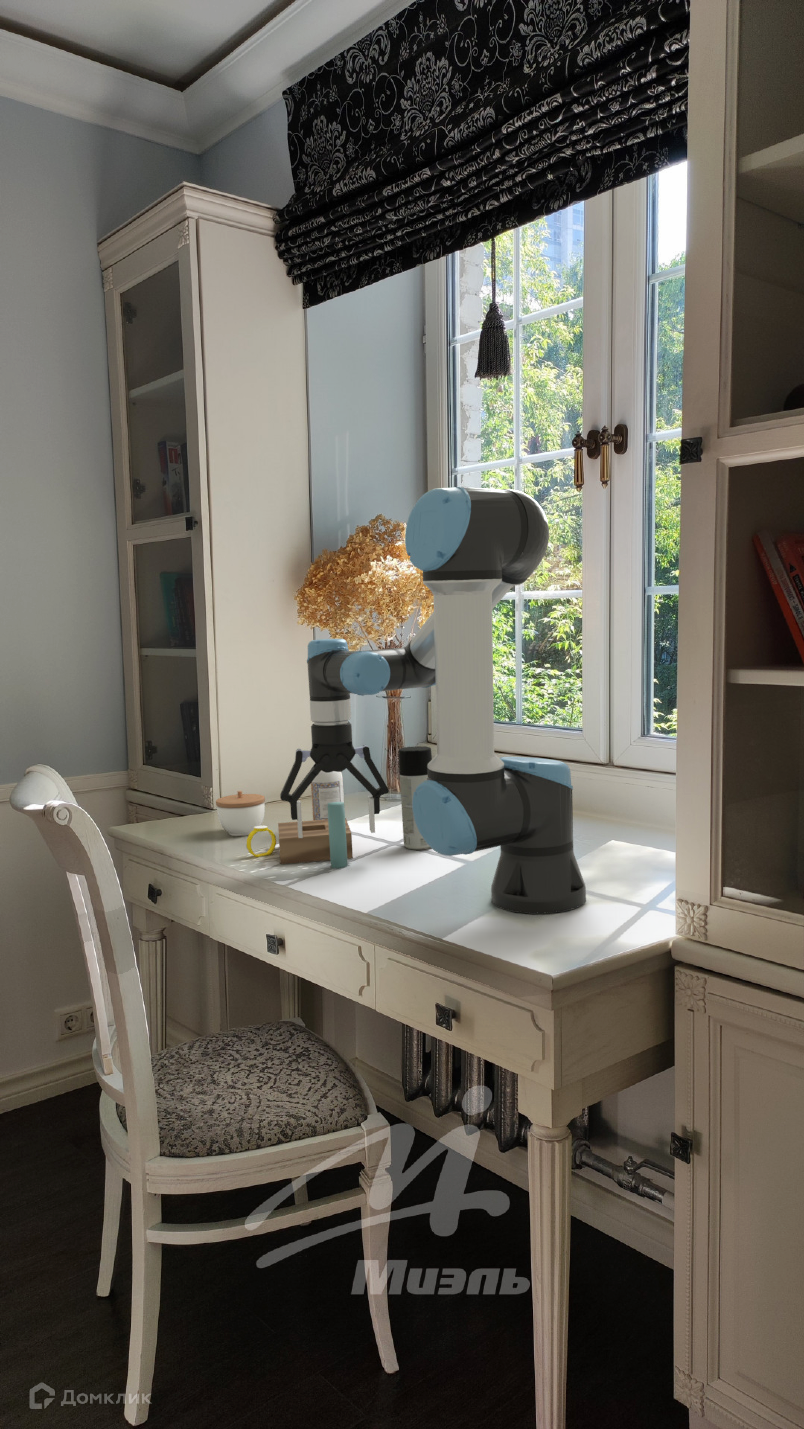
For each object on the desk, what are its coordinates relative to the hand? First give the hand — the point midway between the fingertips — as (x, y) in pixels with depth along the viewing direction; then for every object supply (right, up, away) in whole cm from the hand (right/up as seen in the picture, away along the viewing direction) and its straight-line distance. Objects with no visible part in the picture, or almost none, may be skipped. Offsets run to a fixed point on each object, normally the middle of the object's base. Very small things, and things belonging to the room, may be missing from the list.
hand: (336, 833), depth 182 cm
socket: (-5, -5, +12) cm, 14 cm away
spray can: (+16, -4, +12) cm, 21 cm away
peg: (0, -6, 0) cm, 6 cm away
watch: (-16, -6, +11) cm, 20 cm away
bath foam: (-3, -3, +29) cm, 29 cm away
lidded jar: (-23, -4, +32) cm, 40 cm away
